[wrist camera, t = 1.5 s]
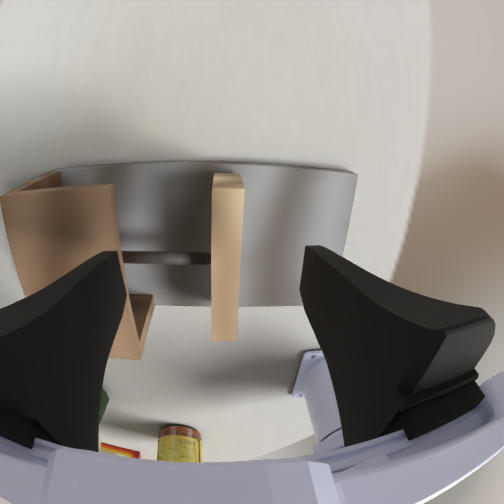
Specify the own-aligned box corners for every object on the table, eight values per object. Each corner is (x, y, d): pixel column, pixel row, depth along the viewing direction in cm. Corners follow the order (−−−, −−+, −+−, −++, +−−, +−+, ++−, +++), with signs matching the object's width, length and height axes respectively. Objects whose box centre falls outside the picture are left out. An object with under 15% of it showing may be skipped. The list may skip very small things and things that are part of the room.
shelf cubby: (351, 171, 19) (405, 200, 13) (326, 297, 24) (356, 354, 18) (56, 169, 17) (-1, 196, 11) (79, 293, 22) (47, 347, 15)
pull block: (239, 173, 17) (244, 188, 14) (233, 303, 22) (236, 340, 18) (64, 178, 16) (32, 195, 12) (86, 298, 20) (68, 330, 17)
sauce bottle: (150, 426, 32) (142, 552, 15) (187, 419, 32) (188, 558, 14) (176, 444, 35) (176, 556, 17) (211, 438, 35) (219, 559, 17)
